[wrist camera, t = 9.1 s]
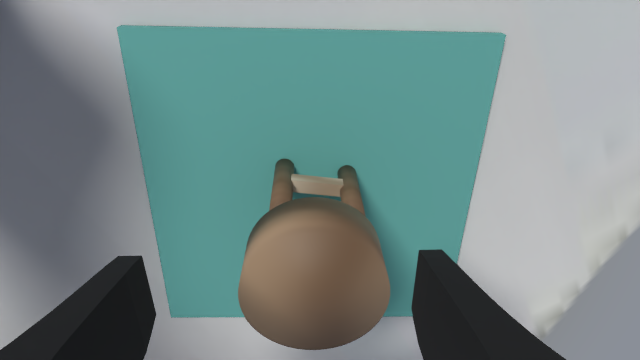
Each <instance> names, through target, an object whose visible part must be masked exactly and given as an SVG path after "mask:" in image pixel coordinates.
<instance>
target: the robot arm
mask: <svg viewBox="0 0 640 360" xmlns="http://www.w3.org/2000/svg"><path fill="white" fill-rule="evenodd" d="M411 309H412V314H413V320H414V325H415V330H416V334H417V339H418V344H419V347H420V350H421V353H422V356H423V359H424V360H566V359H564V358H563V357H562V356H560V355H559V354H558V353H556V352H555V351H553V350H552V349H551V348H550V347H548V346H547V345H545V344H544V343H543V342H542V341H540V340H539V339H538V338H537V337H535V336H534V335H533V334H532V333H530V332H529V331H528V330H527V329H526V328H524V327H523V326H522V325H521V324H520V323H518V322H517V321H516V320H515V319H514V318H513V317H511V316H510V315H509V314H508V313H507V312H506V311H505V310H503V309H502V308H501V307H500V306H499V305H498V304H497V303H496V302H495V301H494V300H493V299H491V298H490V297H489V296H488V295H487V294H486V293H485V292H484V291H483V290H482V289H481V288H480V287H479V286H478V285H477V284H476V283H475V282H474V281H473V280H472V279H471V278H470V277H469V276H468V275H467V274H466V273H465V272H464V271H463V270H462V269H461V268H460V267H459V266H458V265H457V264H456V263H455V262H454V261H453V260H452V259H451V258H450V257H449V256H448V255H447V254H446V253H445V252H444V251H443V250H442V249H437V250H419V253H418V261H417V268H416V276H415V283H414V291H413V298H412V306H411ZM155 317H156V312H155V308H154V304H153V299H152V295H151V291H150V287H149V283H148V279H147V275H146V271H145V267H144V262H143V258H142V256H118V257H117V258H115V259H114V260H113V261H111V262H110V263H109V264H108V265H106V266H105V267H104V268H103V269H102V270H100V271H99V272H98V273H97V274H96V275H95V276H93V277H92V278H91V279H90V280H89V281H87V282H86V283H85V284H84V285H83V286H82V287H80V288H79V289H78V290H77V291H76V292H74V293H73V294H72V295H71V296H70V297H68V298H67V299H66V300H65V301H63V302H62V303H61V304H60V305H59V306H57V307H56V308H55V309H54V310H53V311H51V312H50V313H49V314H47V315H46V316H45V317H44V318H42V319H41V320H40V321H38V322H37V323H36V324H34V325H33V326H32V327H31V328H29V329H28V330H27V331H25V332H24V333H23V334H21V335H20V336H19V337H17V338H16V339H15V340H14V341H12V342H11V343H10V344H8V345H7V346H5V347H4V348H3V349H1V350H0V360H143V359H144V356H145V354H146V351H147V347H148V344H149V340H150V337H151V333H152V329H153V325H154V321H155Z"/></svg>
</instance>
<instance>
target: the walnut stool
mask: <svg viewBox="0 0 640 360" xmlns="http://www.w3.org/2000/svg"><path fill="white" fill-rule="evenodd" d="M337 175H338V178H328V177H318V176H309V175H299V174H294V164H293V162H292V161H291V160H289V159H280V160H278V161H277V163H276V165H275V172H274V179H273V186H272V193H271V201H270V208H269V211H268V212H267V213H266V214H265V215H263V216H262V217H261V218H260V219H259V221H258V222H257V223H256V224H255V226H254V227H253V229H252V231H251V233H250V235H249V238H248V241H247V246H246V251H245V256H244V261H243V266H242V271H241V276H240V281H239V287H238V300H239V304H240V308H241V310H242V313H243V315H244V316H245V318H246V320H247V321H248V322H249V323H250V325H251V326H252V327H253V328H254V329H255V330H256V331H257V332H259V333H260V334H262V335H263V336H264V337H266V338H268V339H270V340H271V341H274V342H276V343H278V344H281V345H284V346H287V347H292V348H296V349H305V350H320V349H328V348H334V347H338V346H342V345H345V344H347V343H350V342H352V341H354V340H356V339H358V338H360V337H362V336H363V335H365V334H366V333H367V332H369V331H370V330H371V329H372V328H373V327H374V326H375V325H376V324H377V323H378V322H379V321H380V319H381V318H382V317H383V315H384V313H385V311H386V309H387V306H388V304H389V299H390V283H389V278H388V274H387V270H386V266H385V262H384V258H383V254H382V250H381V246H380V242H379V238H378V235H377V232H376V230H375V229H374V227H373V225H372V224H371V222H370V221H369V220H368V219H367V218H366V215H365V211H364V206H363V202H362V197H361V193H360V188H359V184H358V179H357V175H356V170H355V169H354V168H353V167H352V166H350V165H344V166H342V167H340V168H339V170H338V172H337ZM293 192H296V193H307V194H317V195H327V196H337V197H341V201H337V200H334V199H329V198H323V197H306V198H299V199H294V200H292V198H293Z"/></svg>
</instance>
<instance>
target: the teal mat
mask: <svg viewBox="0 0 640 360" xmlns="http://www.w3.org/2000/svg"><path fill="white" fill-rule="evenodd" d="M117 31H118V36H119V42H120V47H121V52H122V58H123V63H124V68H125V74H126V79H127V84H128V90H129V95H130V101H131V106H132V111H133V117H134V122H135V127H136V133H137V138H138V143H139V149H140V154H141V159H142V165H143V170H144V175H145V181H146V186H147V191H148V197H149V202H150V207H151V213H152V218H153V223H154V229H155V234H156V239H157V245H158V250H159V255H160V261H161V266H162V271H163V277H164V282H165V287H166V293H167V298H168V303H169V309H170V314H171V317H245V316H244V315H243V313H242V310H241V308H240V304H239V300H238V287H239V281H240V276H241V271H242V266H243V261H244V256H245V251H246V246H247V241H248V238H249V235H250V233H251V231H252V229H253V227H254V226H255V224H256V223H257V222H258V221H259V219H260V218H261V217H262V216H263V215H265V214H266V213H267V212H268V211H269V208H270V201H271V193H272V186H273V179H274V172H275V165H276V163H277V161H278V160H280V159H289V160H291V161H292V162H293V164H294V174H299V175H309V176H318V177H328V178H338V175H337V172H338V170H339V168H340V167H342V166H344V165H350V166H352V167H353V168H354V169H355V170H356V175H357V179H358V184H359V188H360V193H361V197H362V202H363V206H364V211H365V215H366V218H367V219H368V220H369V221H370V222H371V224H372V225H373V227H374V229H375V230H376V232H377V235H378V238H379V242H380V246H381V250H382V254H383V258H384V262H385V266H386V270H387V274H388V278H389V283H390V299H389V304H388V306H387V309H386V311H385V313H384V315H383V317H386V316H413V314H412V309H411V306H412V298H413V291H414V283H415V276H416V268H417V261H418V253H419V250H437V249H442V250H443V251H444V252H445V253H446V254H447V255H448V256H449V257H450V258H451V259H452V260H453V261H454V262H455V263H456V264H457V260H458V255H459V250H460V246H461V241H462V236H463V232H464V227H465V223H466V218H467V213H468V209H469V204H470V199H471V195H472V190H473V185H474V181H475V176H476V171H477V167H478V162H479V158H480V153H481V148H482V144H483V139H484V134H485V130H486V125H487V120H488V116H489V111H490V106H491V102H492V97H493V93H494V88H495V83H496V79H497V74H498V69H499V65H500V60H501V55H502V51H503V46H504V41H505V37H506V35H505V34H503V33H488V32H436V31H385V30H334V29H282V28H231V27H180V26H128V25H121V26H119V27H117ZM306 197H323V198H329V199H334V200H337V201H341V197H337V196H327V195H317V194H307V193H296V192H293V198H292V200H294V199H299V198H306Z"/></svg>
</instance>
